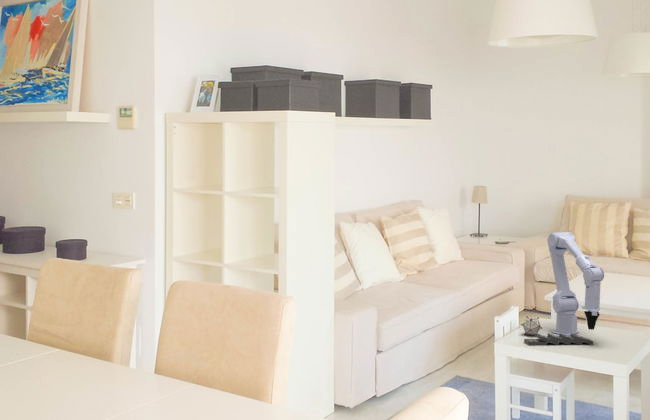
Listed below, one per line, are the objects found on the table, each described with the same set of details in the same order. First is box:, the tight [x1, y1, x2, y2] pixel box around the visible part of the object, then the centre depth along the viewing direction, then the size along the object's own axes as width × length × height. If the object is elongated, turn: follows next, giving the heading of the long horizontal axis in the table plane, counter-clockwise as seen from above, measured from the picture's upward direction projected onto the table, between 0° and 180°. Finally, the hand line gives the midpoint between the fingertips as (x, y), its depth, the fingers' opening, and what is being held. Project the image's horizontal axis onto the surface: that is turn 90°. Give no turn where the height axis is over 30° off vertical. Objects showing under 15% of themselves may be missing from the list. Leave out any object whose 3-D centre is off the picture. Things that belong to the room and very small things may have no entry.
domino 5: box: [570, 333, 594, 345], centre depth 314 cm, size 1×5×8 cm
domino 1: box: [523, 338, 549, 346], centre depth 312 cm, size 1×5×8 cm
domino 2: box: [535, 333, 560, 346], centre depth 312 cm, size 1×5×8 cm
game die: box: [520, 315, 543, 336], centre depth 326 cm, size 9×8×10 cm
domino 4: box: [558, 334, 583, 346], centre depth 313 cm, size 1×5×8 cm
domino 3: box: [546, 333, 572, 346], centre depth 313 cm, size 1×5×8 cm
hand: (591, 329), depth 314 cm, fingers closed
